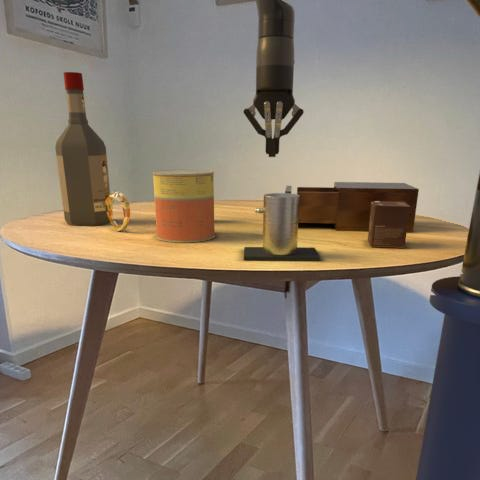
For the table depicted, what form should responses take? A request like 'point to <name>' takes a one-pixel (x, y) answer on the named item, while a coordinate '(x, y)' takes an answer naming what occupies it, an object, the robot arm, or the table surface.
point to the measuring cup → (280, 223)
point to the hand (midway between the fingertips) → (272, 156)
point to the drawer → (316, 204)
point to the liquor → (81, 162)
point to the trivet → (301, 255)
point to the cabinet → (359, 202)
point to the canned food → (184, 205)
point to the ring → (125, 206)
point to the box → (388, 224)
